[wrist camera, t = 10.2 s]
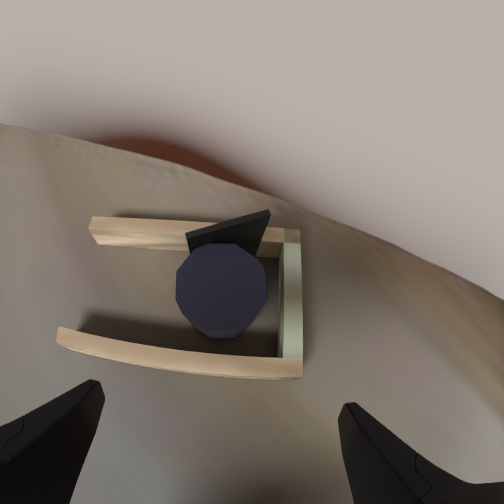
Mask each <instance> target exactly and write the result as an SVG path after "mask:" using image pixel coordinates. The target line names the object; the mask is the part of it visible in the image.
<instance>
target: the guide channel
mask: <svg viewBox="0 0 504 504" xmlns="http://www.w3.org/2000/svg"><path fill="white" fill-rule="evenodd" d="M214 224H217V223H208V222H192V221H176V220H158V219H138V218H116V217H92V220H91V222H90V225H89V227H88V230H89V231H90V233H91V234H92V236H93V237H94V238H95V240H96V241H97V243H98V244H99V245H111V246H123V247H136V248H148V249H161V250H174V251H187V252H189V249H188V244H187V240H186V236H185V233H186V232H190V231H193V230H196V229H200V228H203V227H207V226H210V225H214ZM255 257H266V258H279V294H278V346H277V358H270V357H249V356H234V355H222V354H211V353H201V352H192V351H183V350H176V349H168V348H161V347H155V346H148V345H142V344H136V343H131V342H125V341H120V340H115V339H110V338H105V337H100V336H96V335H91V334H87V333H83V332H78V331H74V330H70V329H66V328H63V327H59V328H58V333H57V338H56V343H57V344H60V345H62V346H64V347H67V348H69V349H72V350H75V351H78V352H82V353H86V354H90V355H94V356H98V357H102V358H106V359H110V360H115V361H119V362H124V363H129V364H134V365H139V366H145V367H150V368H156V369H163V370H169V371H176V372H183V373H191V374H200V375H209V376H220V377H232V378H247V379H272V380H295V379H299V378H302V377H303V307H302V269H301V244H300V230H298V229H286V228H275V227H266V230H265V232H264V235H263V237H262V240H261V243H260V245H259V248H258V251H257V253H256V256H255Z"/></svg>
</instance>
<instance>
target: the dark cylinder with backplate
mask: <svg viewBox="0 0 504 504" xmlns="http://www.w3.org/2000/svg"><path fill="white" fill-rule="evenodd" d="M270 216H271V214H270V211H269V209H268V210H264V211H260V212H257V213H253V214H249V215H246V216H242V217H238V218H235V219H231V220H228V221H224V222H221V223H217V224H214V225H210V226H207V227H203V228H200V229H196V230H193V231H190V232H186V233H185V236H186V240H187V244H188V249H189V253H190V255H189V256H188V258H187V259H186V260H185V261H184V263H183V264H182V265H181V266H180V268H179V269H178V270H177V274H176V302H177V304H178V306H179V308H180V310H181V312H182V314H183V315H184V316H185V317H186V318H187V319H188V320H189V322H190V323H191V324H192V325H193V326H194V327H195V328H197V329H198V330H199V331H201V332H202V333H204V334H205V335H206V336H208V337H209V338H211V339H232V338H234V337H236V336H238V335H240V334H241V333H242V332H243V331H244V330H245V329H246V328H247V327H248V326H249V325H250V324H251V323H252V322H253V320H254V319H255V317H256V316H257V314H258V313H259V311H260V310H261V308H262V307H263V305H264V304H265V303H266V301H267V287H266V272H265V270H264V268H263V267H262V265H261V263H260V261H259V260H258V259H257V258H255V256H256V253H257V251H258V248H259V245H260V243H261V240H262V237H263V235H264V232H265V230H266V227H267V224H268V222H269V219H270Z"/></svg>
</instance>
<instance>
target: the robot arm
mask: <svg viewBox="0 0 504 504" xmlns="http://www.w3.org/2000/svg"><path fill="white" fill-rule="evenodd" d="M104 402H105V395H104V392H103V389H102V386H101V383H100V382H99V381H96V380H92V379H89V380H87V381H85V382H84V383H82V384H80V385H78V386H76V387H75V388H73V389H71V390H69V391H68V392H66V393H64V394H62V395H60V396H59V397H57V398H55V399H53V400H51V401H49V402H48V403H46V404H44V405H42V406H40V407H38V408H37V409H35V410H33V411H31V412H29V413H27V414H25V416H21V417H20V418H18V419H16V420H14V421H12V422H10V423H7V424H5V425H3V426H0V504H69V503H70V500H71V497H72V494H73V491H74V488H75V486H76V483H77V480H78V477H79V474H80V472H81V469H82V466H83V464H84V461H85V458H86V456H87V453H88V451H89V448H90V446H91V443H92V441H93V438H94V436H95V433H96V430H97V427H98V423H99V419H100V416H101V412H102V409H103V406H104ZM338 426H339V433H340V441H341V449H342V455H343V460H344V464H345V468H346V472H347V476H348V480H349V484H350V488H351V492H352V496H353V500H354V504H504V482H495V483H482V484H472V483H468V482H465V481H462V480H460V479H459V478H457V477H455V476H453V475H451V474H449V473H448V472H446V471H444V470H442V469H441V468H439V467H437V466H436V465H434V464H433V463H431V462H430V461H428V460H427V459H426V458H424V457H423V456H421V455H420V454H419V453H416V451H415V450H414V449H412V448H411V447H410V446H408V445H407V444H406V443H405V442H403V441H402V440H401V439H400V438H398V437H397V436H396V435H395V434H393V433H392V432H391V431H390V430H388V429H387V428H386V427H385V426H384V425H382V424H381V423H380V422H379V421H377V420H376V419H375V418H374V417H373V416H371V415H370V414H369V413H368V412H367V411H365V410H364V409H363V408H362V407H361V406H359V405H358V404H357V403H355V402H351V403H345V404H344V406H343V408H342V410H341V412H340V415H339V417H338Z"/></svg>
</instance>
